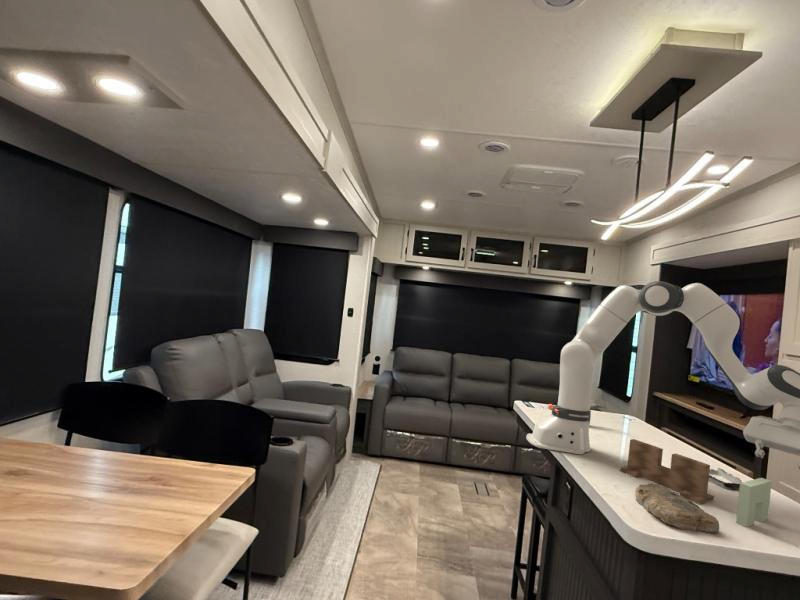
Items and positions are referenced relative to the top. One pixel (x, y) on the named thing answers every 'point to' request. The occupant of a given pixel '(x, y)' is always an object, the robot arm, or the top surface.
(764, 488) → the green slotted plate
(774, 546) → the top surface
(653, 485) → the brown rock
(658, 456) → the walnut slotted board
